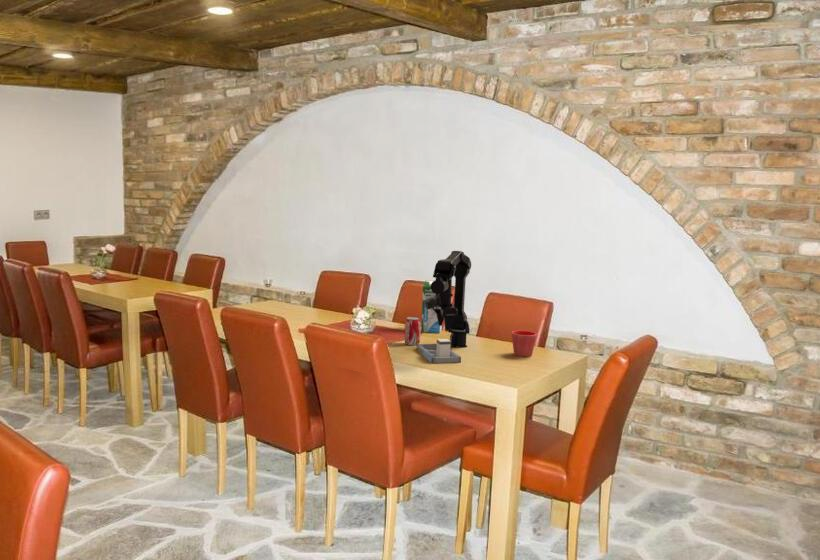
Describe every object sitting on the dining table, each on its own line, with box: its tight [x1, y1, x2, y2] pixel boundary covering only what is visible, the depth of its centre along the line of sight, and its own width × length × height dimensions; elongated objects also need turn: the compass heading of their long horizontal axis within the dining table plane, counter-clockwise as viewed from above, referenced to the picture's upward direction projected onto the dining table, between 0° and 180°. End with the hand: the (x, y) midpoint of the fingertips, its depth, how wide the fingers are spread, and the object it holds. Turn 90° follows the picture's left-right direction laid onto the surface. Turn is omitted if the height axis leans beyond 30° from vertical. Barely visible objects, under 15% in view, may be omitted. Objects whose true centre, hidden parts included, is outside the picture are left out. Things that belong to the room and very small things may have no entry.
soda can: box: [404, 316, 422, 346], centre depth 316 cm, size 7×7×12 cm
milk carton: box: [420, 279, 443, 334], centre depth 347 cm, size 9×9×25 cm
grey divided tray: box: [416, 343, 462, 364], centre depth 296 cm, size 12×26×3 cm, turn 14°
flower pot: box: [511, 330, 537, 357], centre depth 301 cm, size 11×11×10 cm
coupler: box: [435, 338, 451, 357], centre depth 290 cm, size 5×5×8 cm
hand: (443, 327), depth 291 cm, fingers open, 9 cm apart
